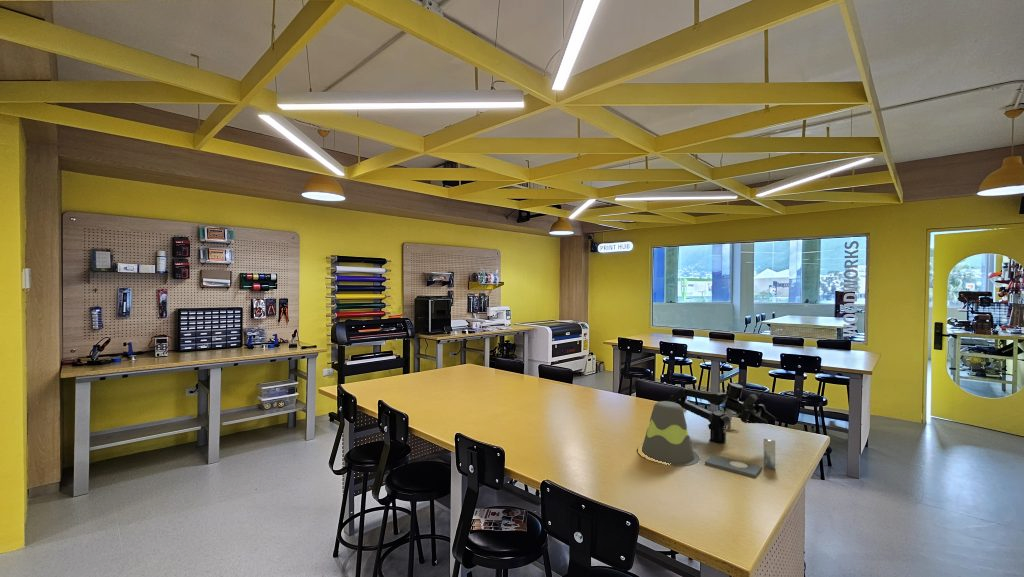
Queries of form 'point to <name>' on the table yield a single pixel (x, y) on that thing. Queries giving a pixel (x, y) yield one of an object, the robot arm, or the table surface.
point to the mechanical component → (729, 415)
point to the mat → (733, 466)
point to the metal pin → (769, 454)
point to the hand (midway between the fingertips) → (771, 420)
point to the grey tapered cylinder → (669, 436)
